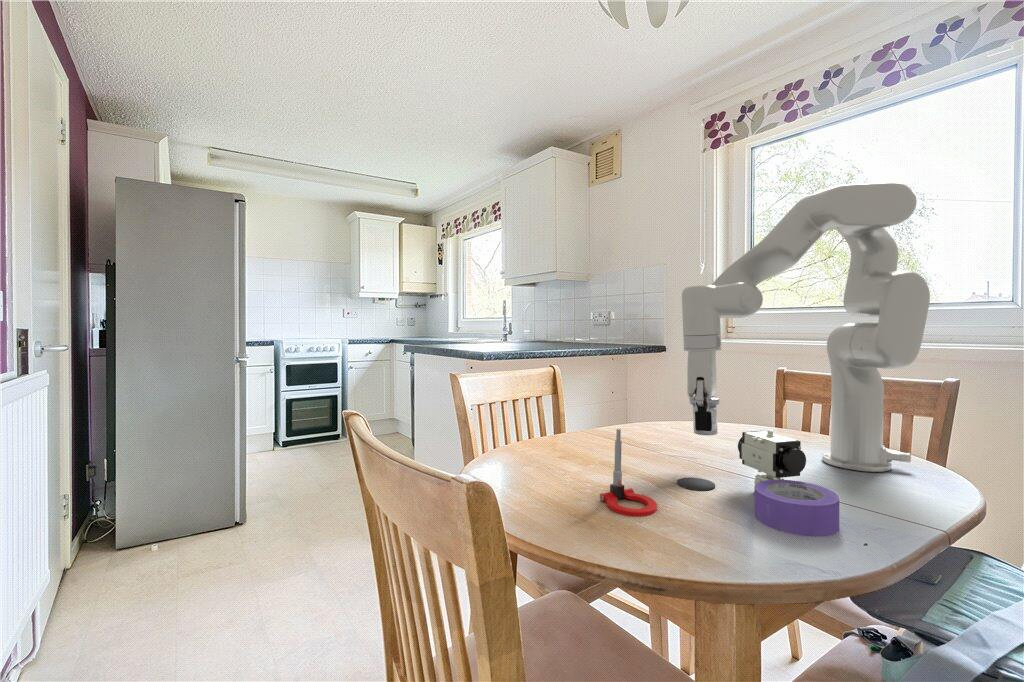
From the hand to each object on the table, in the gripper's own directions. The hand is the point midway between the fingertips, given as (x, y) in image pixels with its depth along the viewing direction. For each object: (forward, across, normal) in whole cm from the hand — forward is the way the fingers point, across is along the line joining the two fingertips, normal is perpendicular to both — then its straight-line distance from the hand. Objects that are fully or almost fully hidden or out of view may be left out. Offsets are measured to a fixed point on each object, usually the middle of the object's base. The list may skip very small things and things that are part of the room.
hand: (705, 426), depth 103 cm
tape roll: (+10, +22, +16) cm, 29 cm away
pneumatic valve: (+10, +11, +12) cm, 19 cm away
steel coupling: (+1, 0, 0) cm, 1 cm away
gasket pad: (+9, +11, -1) cm, 14 cm away
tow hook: (+9, +28, -9) cm, 31 cm away
